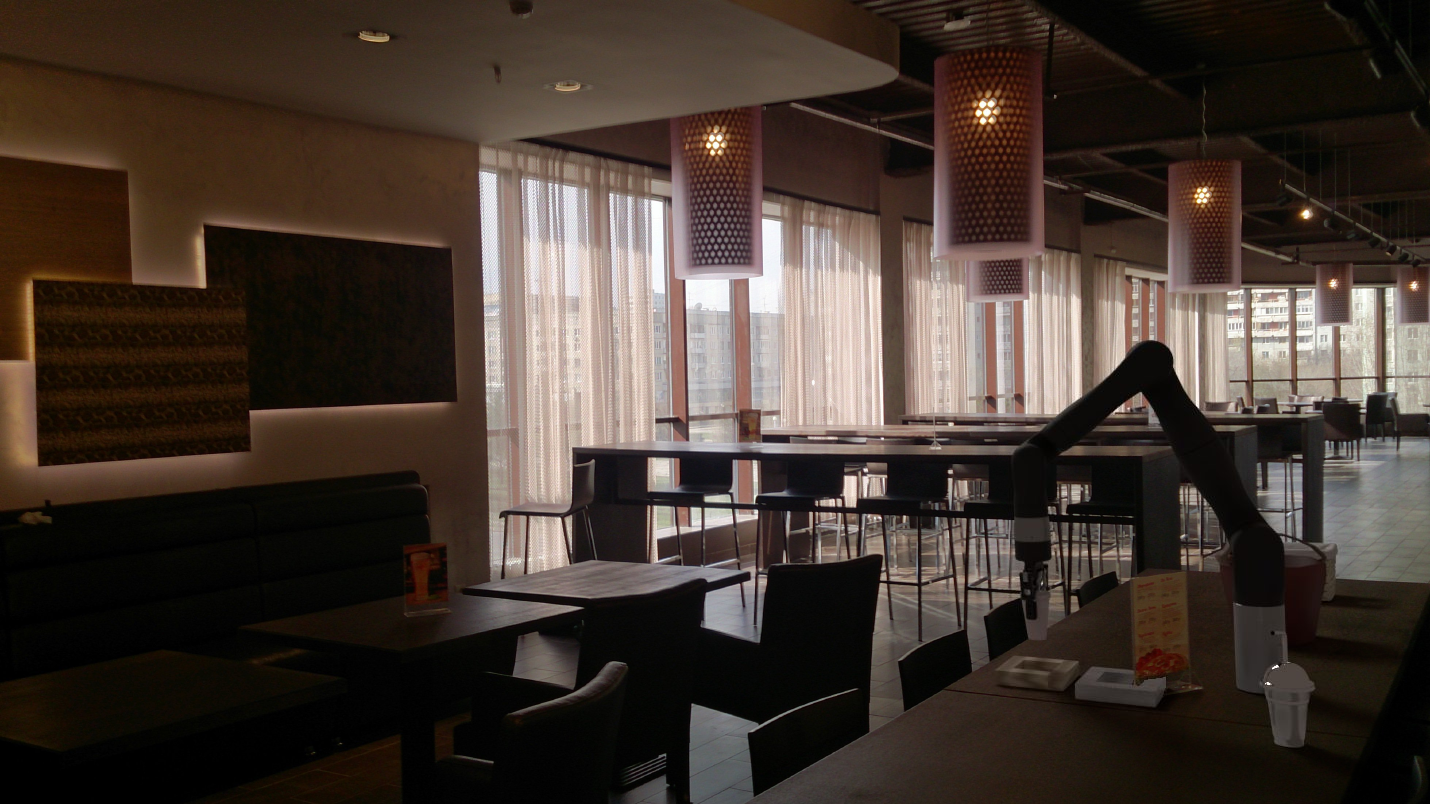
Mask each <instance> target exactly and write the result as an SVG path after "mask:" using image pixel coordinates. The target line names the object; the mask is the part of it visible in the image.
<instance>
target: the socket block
mask: <svg viewBox="0 0 1430 804" xmlns="http://www.w3.org/2000/svg"><path fill="white" fill-rule="evenodd" d="M994 676H995V677H994V678H995V679H994V680H995V685H997V686H1007V687H1009V686H1010V687H1018V688H1026V689H1027V688H1028V689H1037V690H1047V691H1056V692H1064V691H1065V690H1066V689H1068V687H1069V686H1070V685H1072V683H1074V681H1075V680H1076V679H1077V678H1078V677H1079V676H1080V661H1078V660H1068V659H1067V660H1066V659H1059V658H1058V659H1057V658H1048V657H1047V658H1045V657H1034V656H1033V657H1032V656H1026V655H1025V656H1023V655H1012V657H1010V658H1009V659H1008V660H1006V661H1005V662H1004V663H1002V664H1001V665H1000V666H999V667H997V668H996V669H994Z"/></svg>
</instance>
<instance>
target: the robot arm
mask: <svg viewBox="0 0 1430 804" xmlns="http://www.w3.org/2000/svg"><path fill="white" fill-rule="evenodd" d="M1174 360H1175V359H1174V355H1173V352H1172V350H1171V349H1170V347H1168V346H1167V345H1166V344H1165V343H1164V342H1161V341H1159V340H1153V339H1146V340H1142V341H1140V342H1136V343H1135V344H1134V345H1133V346H1132V347H1130V348H1129V350H1128V352H1127V353H1126V355H1125V357H1124V358H1123V360H1122V361H1121V362H1120V363H1119V364H1118V365H1117V366H1116V367H1115V368H1114V370H1112V372H1111V373H1110V374H1109V375H1108V376H1106V377H1105V378H1104V379H1103V380H1102V381H1101V382H1099V383H1098V384H1097V385H1095V386H1094V387H1093V388H1092V389H1090V390H1089V391H1088V392H1086V393H1085V394H1083V395H1082V396H1081V397H1079V398H1078V399H1076V400H1075V401H1073V402H1072V403H1071V404H1070V405H1068V406H1067V407H1065V408H1064V409H1063V410H1062V411H1061V412H1060V413H1058V414H1057V415H1056V416H1055V417H1053V418H1052V419H1051V420H1050V421H1049V422H1047V424H1046V425H1045V426H1044V427H1042V429H1040V430H1039V431H1038V432H1036V433H1035V434H1034V435H1032V436H1031V437H1029V438H1028V439H1027V440H1025V441H1024V442H1022V443H1021V444H1020V445H1018V446H1017V447H1016V449H1014V451H1013V453H1012V456H1011V460H1010V461H1011V473H1012V484H1013V491H1014V492H1013V493H1014V494H1013V512H1014V516H1013V517H1014V520H1013V536H1014V537H1013V538H1014V539H1013V540H1014V542H1013V543H1014V558H1015V560H1016V561H1018V562H1023V564H1024V565H1023V569H1022V571H1020V572H1019V573H1018V577H1019V587H1020V593H1021V598H1020V599H1021V601H1022V600H1024V602H1025V605H1026V618H1027V619H1028V620H1036V619H1037V593H1038V592H1039V591H1048V592H1049V590H1050V589H1049V563H1046V562H1049V561H1051V560H1052V559H1053V558H1052V557H1053V556H1052V555H1053V554H1052V553H1053V552H1052V534H1051V533H1052V532H1051V531H1052V530H1051V524H1050V523H1051V521H1050V519H1049V499H1048V494H1047V466H1049V465H1051V463H1053V462H1054V460H1056V459H1057V458H1058V457H1059V456H1060V455H1061V454H1063V453H1065V452H1067V451H1068V450H1070V449H1072V448H1073V447H1074V446H1075V445H1077V444H1078V443H1079V442H1080V441H1082V440H1083V439H1084V438H1086V437H1087V436H1088V435H1089V434H1090V433H1091V432H1093V430H1095V429H1096V428H1097V427H1098V426H1099V425H1100V424H1102V423H1103V422H1104V421H1105V420H1106V419H1107V418H1108V417H1109V416H1111V415H1112V413H1114V412H1115V411H1116V410H1117V409H1118V408H1120V407H1121V406H1122V405H1124V404H1125V403H1126V402H1128V401H1129V400H1130V399H1132V398H1133V397H1135V396H1137V395H1138V394H1140V393H1141V394H1142V395H1143V398H1145V400H1146V401H1147V403H1148V404H1149V405H1150V407H1151V408H1152V411H1153V412H1154V414H1155V416H1156V418H1157V419H1158V422H1159V424H1160V427H1161V429H1162V432H1163V433H1164V436H1165V438H1166V440H1167V443H1168V444H1169V446H1170V448H1171V450H1172V451H1173V454H1174V456H1175V457H1176V460H1177V461H1178V463H1179V464H1180V466H1181V468H1182V470H1183V471H1184V473H1185V474H1186V475H1187V477H1188V479H1189V480H1190V482H1191V483H1192V485H1193V486H1194V487H1195V489H1197V491H1198V492H1199V493H1200V495H1201V496H1202V498H1203V499H1204V500H1205V501H1206V503H1207V504H1208V505H1209V507H1210V508H1211V509H1212V511H1213V513H1214V515H1215V516H1216V518H1217V520H1218V522H1219V524H1220V526H1221V529H1222V530H1223V533H1224V534H1225V537H1226V541H1227V540H1228V542H1229V545H1230V548H1231V553H1232V555H1233V570H1234V586H1233V601H1234V602H1233V608H1234V628H1233V632H1234V655H1235V656H1234V659H1235V662H1234V663H1235V679H1236V680H1235V681H1236V682H1235V683H1236V685H1235V686H1236V687H1237V688H1236V689H1238V690H1240V691H1244V692H1248V693H1253V694H1261V695H1265V689H1264V688H1263V687H1261V686H1260V685H1259V683H1260V679H1261V678H1262V677H1264V675H1265V673H1266V671H1267V669H1268V668H1269V667H1270V666H1271V665H1273V664H1275V663H1277V662H1283V640H1282V635H1271V631H1284V632H1285V607H1284V593H1285V552H1284V544H1283V542H1284V541H1283V539H1282V536H1279V534H1278V533H1279V532H1277V531H1276V530H1275V529H1274V528H1273V527H1272V526H1271V525H1270V524H1269V523H1268V521H1266V519H1265V518H1264V516H1263V515H1262V514H1261V512H1260V511H1259V510H1258V508H1257V507H1256V506H1255V504H1254V502H1252V500H1251V498H1250V497H1249V495H1248V493H1247V491H1246V488H1245V486H1244V483H1243V481H1242V479H1241V476H1240V474H1239V471H1238V469H1237V467H1236V464H1235V462H1234V460H1233V458H1232V456H1231V453H1230V452H1229V450H1228V449H1227V446H1226V445H1225V443H1224V442H1223V440H1222V439H1221V436H1220V435H1219V433H1218V432H1217V430H1216V429H1215V427H1214V426H1213V424H1212V423H1211V422H1210V421H1209V419H1208V418H1207V417H1206V415H1204V413H1203V412H1202V411H1201V409H1199V407H1198V406H1197V405H1196V404H1195V403H1194V401H1193V400H1192V399H1191V397H1190V396H1189V395H1188V394H1187V392H1186V390H1185V388H1184V387H1183V385H1182V383H1181V379H1179V376H1178V374H1177V373H1176V370H1175V368H1174V365H1175V364H1174ZM1044 562H1045V563H1044ZM1029 591H1030V595H1029V594H1028V592H1029Z"/></svg>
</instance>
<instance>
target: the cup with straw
mask: <svg viewBox="0 0 1430 804" xmlns="http://www.w3.org/2000/svg"><path fill="white" fill-rule="evenodd" d="M1271 635H1282V640H1283V662H1277V663H1275V664H1273V665H1271V666H1270V667H1269V668H1268V669H1267V671H1266V673H1265V675H1264V677H1262V678H1261V679H1260V683H1259V685H1260V686H1261V687H1263V688H1264V689H1265V694H1264V696H1265V698H1266V701H1267V704H1268V710H1269V711H1268V712H1269V717H1270V724H1271V730H1272V735H1273V739H1274V740H1273V742H1274V744H1276V745H1278V746H1281V747H1286V748H1302V747H1304V746H1305V743H1304V741H1305V738H1306V730H1307V729H1306V728H1307V717H1308V705H1309V703H1310V698H1311V692H1314V690H1316V686H1315V683H1314V682H1313V681H1312V680H1310V677H1309V676H1308V673H1307V672H1306V670H1305V669H1304V668H1303V667H1302V666H1300V665H1299V664H1297V663H1294V662H1291V661H1289V658H1288V657H1289V655H1288V653H1289V652H1288V645H1287V635H1286V633H1285V632H1284V631H1271Z"/></svg>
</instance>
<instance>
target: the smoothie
mask: <svg viewBox="0 0 1430 804" xmlns="http://www.w3.org/2000/svg"><path fill="white" fill-rule="evenodd" d="M1028 594H1029V595H1030V591H1029V592H1028ZM1051 595H1052V594H1051V592H1050V591H1049V590H1048V591H1039V592H1038V593H1037V619H1036V620H1028V619H1027V618H1026V605H1025V602H1024V600H1022V599H1021V592H1019V598H1020V599H1021V602H1022V603H1021V604H1022V608H1023V609H1022V610H1023V614H1024V620H1025V627H1026V631H1027V632H1026V633H1027V637H1028V640H1032V641H1043V640H1044V641H1045V640H1047V636H1048V625H1049V624H1048V623H1049V622H1048V621H1049V609H1050V600H1051V597H1052V596H1051Z"/></svg>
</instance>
